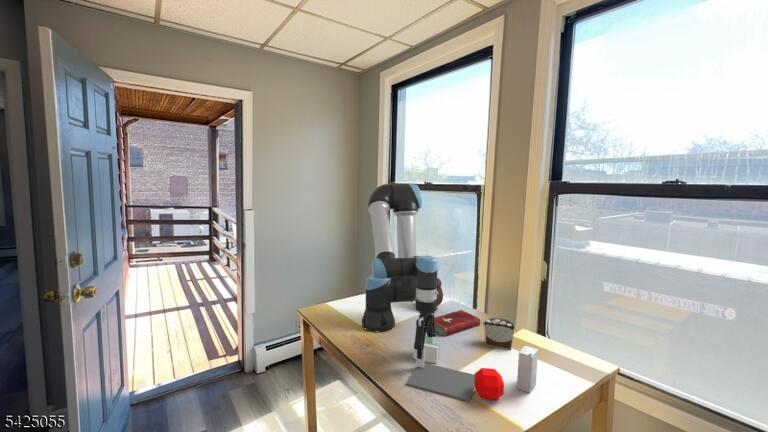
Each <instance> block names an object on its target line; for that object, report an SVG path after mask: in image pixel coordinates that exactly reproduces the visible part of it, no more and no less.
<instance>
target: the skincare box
mask: <svg viewBox="0 0 768 432" xmlns="http://www.w3.org/2000/svg"><path fill="white" fill-rule="evenodd" d="M538 354H539V349H538V348H535V347H531V346H528V345H524V346H523V347H522V348H521V350H520V351H519V352H518V361H517V377H516V378H517V379H516V388H517V389H519V390H521V391H523V392H525V393H526V392H527V393H529V394H531V392H532V390H533V389H534V388H535V386H536V384H537V375H538V374H537V371H538V356H539V355H538Z"/></svg>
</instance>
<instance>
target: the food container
mask: <svg viewBox="0 0 768 432" xmlns="http://www.w3.org/2000/svg"><path fill="white" fill-rule="evenodd" d="M482 326H484V337H485V346H489V347H493V348H499V349H504V350H510V351H511V350H512V346H513V339H514V333H515V332H514V331H517V329H516V325H515V323H514V322H513V321H511V319H508V318H504V317H498V316H497V317H495V316H492V317H488V318H485V319H484V320H483V323H482Z"/></svg>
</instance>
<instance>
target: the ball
mask: <svg viewBox="0 0 768 432" xmlns="http://www.w3.org/2000/svg"><path fill="white" fill-rule="evenodd" d="M474 375H475V378H474V385H475V387H474V389H475V393H476V394H477V395H478V396H479V397H480V399H482V400H486V401H487V400H489V401H497V400H499V399H500V398H501V397H502V396H504V395H505V394H504V392H505V382H504V378H503V376H502V375H501V374H500V373H499V372H498V370H496V369H495V368H491V367H490V368H488V367H487V368H486V367H481V368H480V369H479V370H477V371H475V373H474Z"/></svg>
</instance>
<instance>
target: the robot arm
mask: <svg viewBox="0 0 768 432" xmlns="http://www.w3.org/2000/svg"><path fill="white" fill-rule="evenodd" d="M422 203H423V198H422V192H421V189H420V187H419V185H417V184H413V183H385V184H384V183H383V184H381V185H379V186H378V187H376V188H375V189H373V191H372V193H371V194H370V195H369V198H368V202H367V211H368V213H369V214H370V215H371V216H370V217H371V225H372V234H373V235H372V236H373V242H374V250H375V258H373V259H372V261H371V273H372V274H371V275H369V276H367V277H366V279H365V287H364V291H365V309H364V313H363V315H362V319H361V327H362V326H363V327H364V328H366V329H368V330H371V331H370V332H372V331H379V332H378V333H382V332H383V331H384V332H387V331H388V332H389V331H391V330H393V329H394V328H395V326H396V320H395V316H394V313H393V310H392V303H393V304H394V303H406V302H409V303H412V302H415V310H416V311H417V312H418V313H419V315H418V319H417V318H416V321H415V322H416V325H415V336H414V342H415V345H414V344H413V350H414V349H417V351H416V359H415V361H416V363H415V366H416V368H417V367H421V368H424V363H425V361H424V357H425V349H424V343H425V342H426V343H431V344H434V338H436V337H437V334H436V331H435V319H434V317H435V312H436V311H437V310H438V309H437V308H438V306H437V301H436V299H437V294H438V292H437V278H438V269H439V266H438V258H437V257H436V256H432V255H417V241H416V240H417V237H416V235H417V234H416V215H417V214H418V213H419V210H420V209H421V208H422V205H423V204H422ZM390 210H392V213H393V215H394V216H395V218H396V237H397V238H396V240H397V241H396V242H397V244H396V245H397V246H396V247H397V257H396V251H395V247H394V239H393V235H392V227H391V222H390V221H391V220H390V217H389V215H390V214H389V212H390ZM363 327H362V328H363ZM364 328H363V329H364ZM392 328H393V329H392ZM368 330H367V331H368ZM384 332H383V333H384Z"/></svg>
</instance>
